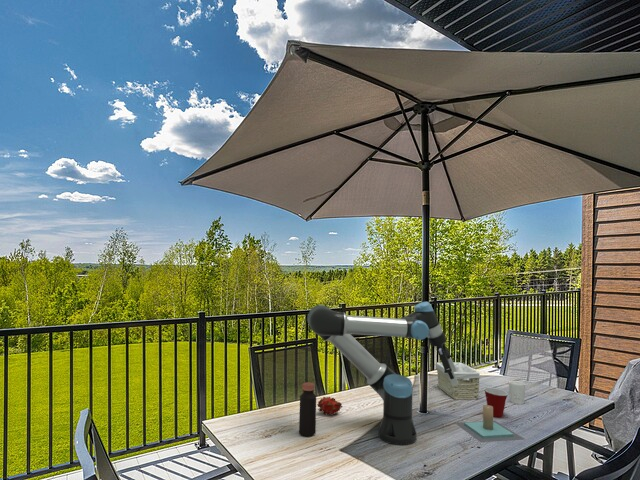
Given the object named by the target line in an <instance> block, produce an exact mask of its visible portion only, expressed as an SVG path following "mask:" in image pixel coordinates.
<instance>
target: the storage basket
mask: <svg viewBox="0 0 640 480" xmlns="http://www.w3.org/2000/svg"><path fill="white" fill-rule="evenodd" d="M453 363H454V365H455V367H456V370H457V371H456V372H453V373H454V375H455V377H456V379H457V381H458V385H454V386H452V384H451V382H450V379H449V377H448V375H447V373H444V371H445V369H444V367H443V364H442V361H441V362H436V365H435V367H436V372H437V383H438V388H439V389H440V390H442V391H443V392H445V394H447V395H448V396H449V397H451V398H452V399H454V400H478V399H479V392H480V390H479V389H480V378H481V375H480V372H479V371H477V370H476V369H475V368H472V367H470V366H469V365H467V364H466V363H463V362H454V361H453Z"/></svg>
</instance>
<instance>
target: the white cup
mask: <svg viewBox="0 0 640 480" xmlns="http://www.w3.org/2000/svg"><path fill="white" fill-rule="evenodd" d="M508 396H509V402H510V403H512V404H515V405H524V404H525V397H526V383H525V382H522V381H517V380H510V381H508Z"/></svg>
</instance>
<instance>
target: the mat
mask: <svg viewBox="0 0 640 480" xmlns="http://www.w3.org/2000/svg"><path fill="white" fill-rule="evenodd" d="M469 422H470V421H463V422H454V424H455V425H456V426H458V427H460V428H461V429H462V430H464V432H466V433H468V434H469V435H470V436H472V437H473V438H474V439H475V440H477V441H478V442H480V443H488V442H490V443H491V442H504V441H506V442H507V441H517V440H518V441H521V440H525V438H524V437H522V436H521V435H519V434H517V433H516V432H514V431H513V430H511V429H509V428H507V427H506V426H505V425H503V424H501V423H499V422H498V421H496V420H493V422H495V423H497V424H498V425H500V426H501V427H503V428H505V429H506V430H508V431H510V432H511V433H513V434H514V437H499V438H482V437H480V436H479V435H478V434H476V433H475V432H473V431H472V430H471V429H469V428H468V427H466V426H465V425H464V423H469ZM478 422H483V420H481V421H478Z"/></svg>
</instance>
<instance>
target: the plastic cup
mask: <svg viewBox="0 0 640 480" xmlns="http://www.w3.org/2000/svg"><path fill="white" fill-rule="evenodd" d="M483 391H484V394H485V399H486V405H490V406H492V407H493V418H497V419H499V418H502V417H503V416H504V411H505V406H506V402H507V398H508V396H509V392H507V391H506V390H503V389H500V388H496V387H495V388H494V387H484V388H483Z"/></svg>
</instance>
